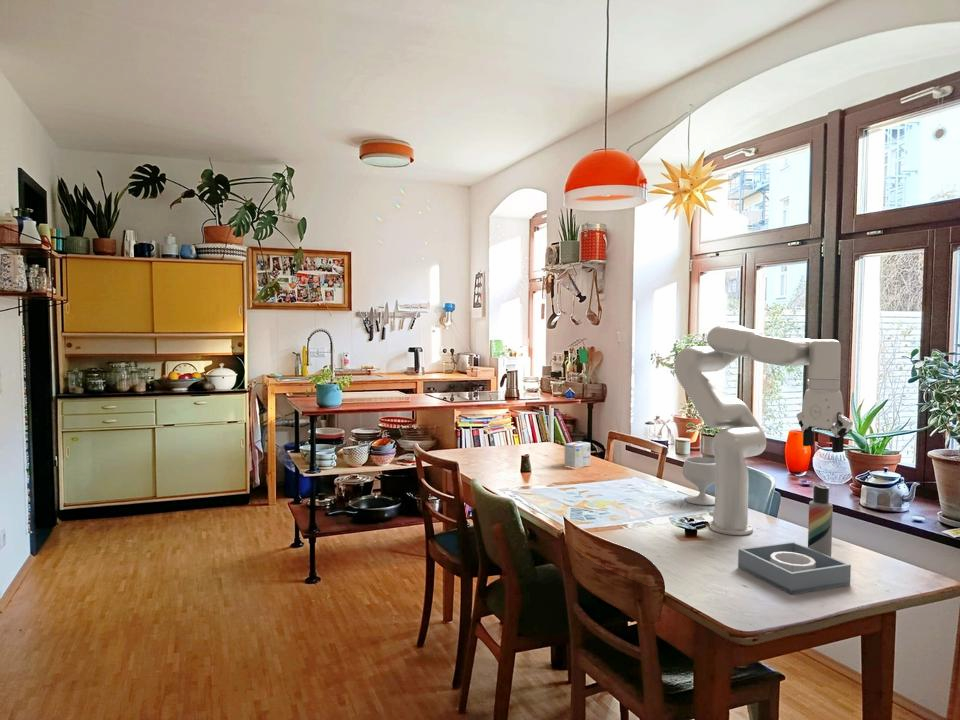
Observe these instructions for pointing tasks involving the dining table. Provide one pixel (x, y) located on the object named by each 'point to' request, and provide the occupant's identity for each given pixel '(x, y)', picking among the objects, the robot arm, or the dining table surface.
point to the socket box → (794, 567)
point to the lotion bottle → (820, 521)
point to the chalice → (700, 478)
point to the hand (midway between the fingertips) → (822, 448)
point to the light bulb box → (577, 454)
